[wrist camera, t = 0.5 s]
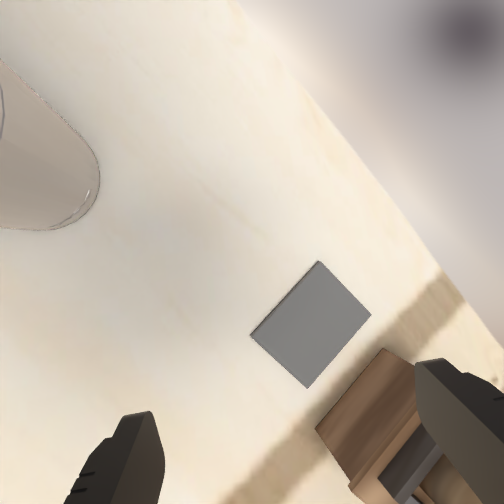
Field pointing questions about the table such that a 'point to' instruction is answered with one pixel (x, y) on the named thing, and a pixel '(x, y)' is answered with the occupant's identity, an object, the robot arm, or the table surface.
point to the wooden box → (381, 435)
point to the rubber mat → (311, 324)
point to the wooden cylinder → (447, 485)
